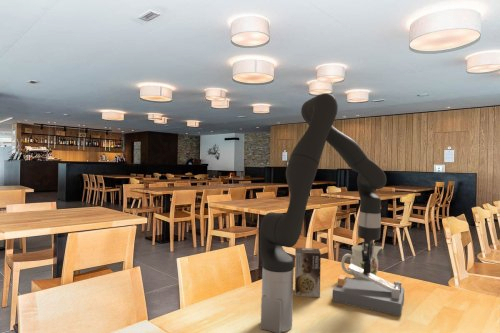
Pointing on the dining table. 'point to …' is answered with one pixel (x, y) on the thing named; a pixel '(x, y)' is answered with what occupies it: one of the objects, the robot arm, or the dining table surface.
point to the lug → (342, 280)
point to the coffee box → (307, 272)
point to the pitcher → (357, 260)
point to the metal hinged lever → (373, 278)
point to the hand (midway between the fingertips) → (367, 272)
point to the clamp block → (370, 296)
